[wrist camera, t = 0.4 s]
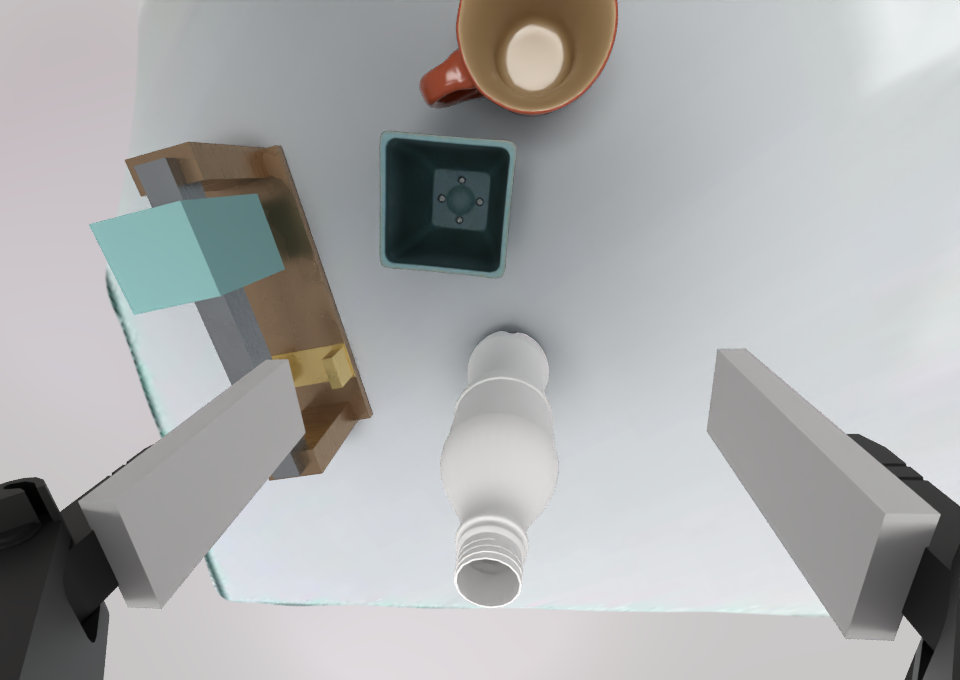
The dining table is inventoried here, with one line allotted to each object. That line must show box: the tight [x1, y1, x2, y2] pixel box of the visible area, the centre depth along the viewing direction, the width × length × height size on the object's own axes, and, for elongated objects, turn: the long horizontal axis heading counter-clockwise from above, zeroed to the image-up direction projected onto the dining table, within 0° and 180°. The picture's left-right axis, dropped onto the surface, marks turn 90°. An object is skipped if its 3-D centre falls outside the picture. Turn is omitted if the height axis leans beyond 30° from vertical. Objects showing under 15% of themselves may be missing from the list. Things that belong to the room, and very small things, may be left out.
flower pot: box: [380, 131, 516, 278], centre depth 34 cm, size 9×9×9 cm
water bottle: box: [440, 331, 559, 608], centre depth 31 cm, size 7×7×25 cm
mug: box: [419, 0, 618, 117], centre depth 30 cm, size 12×9×10 cm
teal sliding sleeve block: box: [89, 194, 285, 315], centre depth 33 cm, size 6×7×8 cm
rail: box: [125, 142, 373, 480], centre depth 38 cm, size 26×8×10 cm, turn 13°
